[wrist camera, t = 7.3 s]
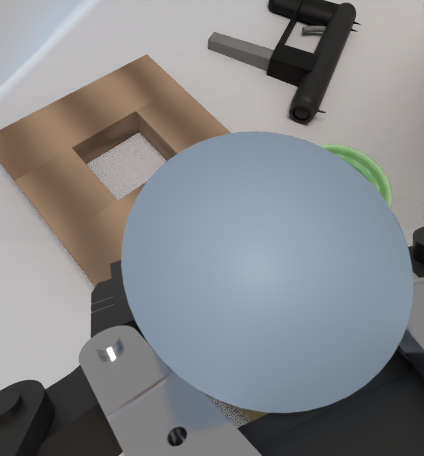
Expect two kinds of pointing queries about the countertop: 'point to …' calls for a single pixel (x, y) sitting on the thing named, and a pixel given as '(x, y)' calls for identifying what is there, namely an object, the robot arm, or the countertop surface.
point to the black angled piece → (298, 51)
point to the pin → (267, 272)
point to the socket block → (93, 147)
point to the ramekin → (364, 168)
